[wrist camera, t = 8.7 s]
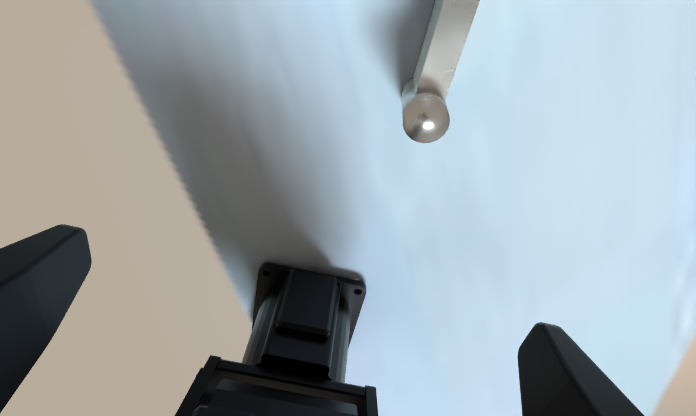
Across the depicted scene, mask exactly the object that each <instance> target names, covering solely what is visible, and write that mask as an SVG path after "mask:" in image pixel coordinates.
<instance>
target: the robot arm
mask: <svg viewBox="0 0 696 416" xmlns="http://www.w3.org/2000/svg"><path fill="white" fill-rule="evenodd" d="M90 267H91V254H90V249H89V244H88V239H87V234H86V232H85V230H84V229H82V228H79V227H73V226H69V225H57V226H55V227H52V228H50V229H47V230H45V231H42V232H40V233H38V234H35V235H32V236H30V237H28V238H25V239H23V240H20V241H18V242H15V243H13V244H10V245H8V246H6V247H3V248H1V249H0V413H1V411H2V410H3V408H4V407H5V405H6V404H7V403H8V401H9V400H10V398H11V397H12V395H13V394H14V392H15V391H16V390H17V388H18V387H19V385H20V384H21V383H22V381H23V380H24V378H25V377H26V375H27V374H28V373H29V371H30V370H31V368H32V367H33V366H34V364H35V363H36V361H37V360H38V358H39V357H40V356H41V354H42V353H43V351H44V350H45V348H46V347H47V345H48V344H49V342H50V340H51V339H52V337H53V336H54V334H55V332H56V330H57V329H58V327H59V325H60V323H61V321H62V320H63V318H64V316H65V314H66V312H67V311H68V309H69V307H70V305H71V303H72V301H73V300H74V298H75V296H76V294H77V292H78V290H79V289H80V287H81V285H82V283H83V281H84V280H85V278H86V276H87V274H88V272H89V270H90ZM266 270H268V271H270V272H267V271H266ZM356 289H360V290H356ZM365 295H366V285H365V284H364V283H363V282H360V281H356V280H351V279H346V278H341V277H336V276H332V275H327V274H322V273H317V272H312V271H307V270H302V269H298V268H293V267H288V266H283V265H278V264H273V263H267V262H266V263H263V264H262V265H261V266H260V269H259V272H258V281H257V289H256V298H255V307H254V316H253V325H252V333H251V336H250V339H249V342H248V345H247V348H246V351H245V354H244V357H243V361H242V363H239V362H233V361H228V360H223V359H221V357H217V356H211V355H210V357H209V359H208V361H207V362H206V364H205V366H204V368H201V369H200V371H199V372H198V374H197V375H196V378H195V380H194V382H193V383H192V385H191V387H190V389H189V391H188V393H187V395H186V396H185V398H184V400H183V402H182V404H181V406H180V407H179V409H178V411H177V413H176V414H175V416H378V408H377V396H376V387H371V386H366V385H365V387H362V386H357V385H352V384H347V383H345V373H346V363H347V352H348V347H349V344H350V341H351V338H352V335H353V332H354V329H355V326H356V323H357V319H358V316H359V313H360V310H361V307H362V304H363V301H364V298H365ZM518 368H519V380H520V392H521V404H522V416H644V415H643V414H642V413H641V412H640V411H639V410H638V409H637V407H636V406H635V405H634V404H633V403H632V402H631V401H630V400H629V399H628V398H627V397H626V396H625V395H624V394H623V393H622V392H621V391H620V390H619V388H618V387H617V386H616V385H615V384H614V383H613V382H612V381H611V380H610V379H609V378H608V377H607V376H606V375H605V374H604V373H603V372H602V371H601V369H600V368H599V367H598V366H597V365H596V364H595V363H594V362H593V361H592V360H591V359H590V358H589V357H588V356H587V355H586V354H585V353H584V352H583V350H582V349H581V348H580V347H579V346H578V345H577V344H576V343H575V342H574V341H573V340H572V339H571V338H570V337H569V336H568V335H567V334H566V333H565V331H564V330H563V329H561V328H560V327H559V326H556V325H552V324H547V323H542V322H540V323H537V324H535V325H534V327H533V328H532V330H531V331H530V333H529V334H528V335H527V337H526V338H525V340H524V341H523V343H522V344H521V346H520V348H519V351H518Z"/></svg>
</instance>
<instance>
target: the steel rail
mask: <svg viewBox="0 0 696 416" xmlns="http://www.w3.org/2000/svg"><path fill="white" fill-rule="evenodd" d="M479 1H480V0H436V1H435V4H434V7H433V11H432V14H431V18H430V21H429V25H428V28H427V31H426V35H425V38H424V42H423V45H422V48H421V52H420V55H419V59H418V62H417V66H416V69H415V72H414V76H413V78H411V79H410V80H409V81H408V82H407V83H406V84H405V86H404V87H403V90H402V95H401V96H402V114H403V127H404V130H405V132H406V134H407V135H408V136H409V137H410V138H411V139H412V140H414V141H416V142H420V143H430V142H433V141H436V140H438V139H439V138H441V137H442V136H443V135H444V134H445V133H446V131H447V129H448V127H449V122H450V118H449V113H448V110H447V106H446V103H445V99H446V96H447V93H448V90H449V88H450V85H451V82H452V79H453V76H454V73H455V70H456V67H457V64H458V62H459V59H460V56H461V53H462V50H463V47H464V44H465V41H466V39H467V36H468V33H469V30H470V27H471V24H472V21H473V18H474V15H475V13H476V10H477V7H478V4H479Z"/></svg>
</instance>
